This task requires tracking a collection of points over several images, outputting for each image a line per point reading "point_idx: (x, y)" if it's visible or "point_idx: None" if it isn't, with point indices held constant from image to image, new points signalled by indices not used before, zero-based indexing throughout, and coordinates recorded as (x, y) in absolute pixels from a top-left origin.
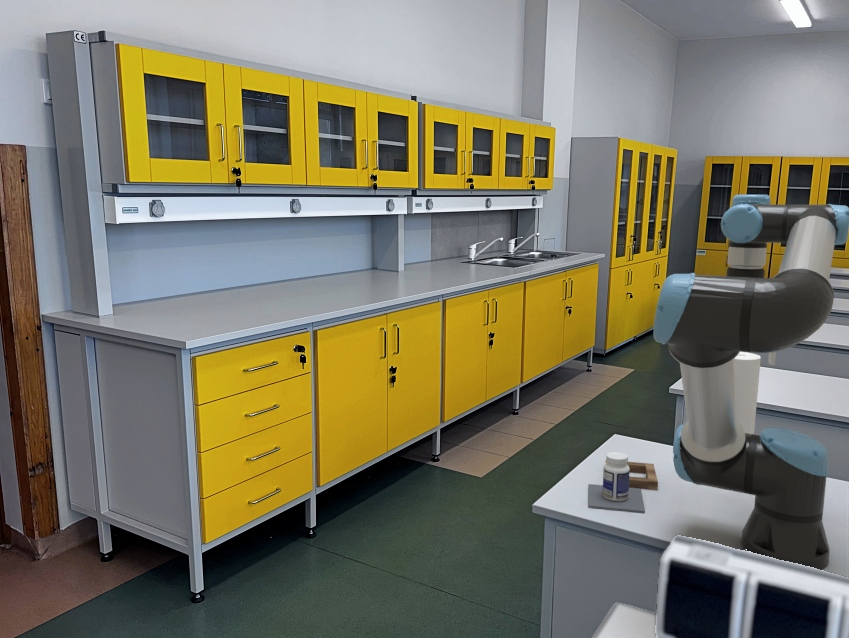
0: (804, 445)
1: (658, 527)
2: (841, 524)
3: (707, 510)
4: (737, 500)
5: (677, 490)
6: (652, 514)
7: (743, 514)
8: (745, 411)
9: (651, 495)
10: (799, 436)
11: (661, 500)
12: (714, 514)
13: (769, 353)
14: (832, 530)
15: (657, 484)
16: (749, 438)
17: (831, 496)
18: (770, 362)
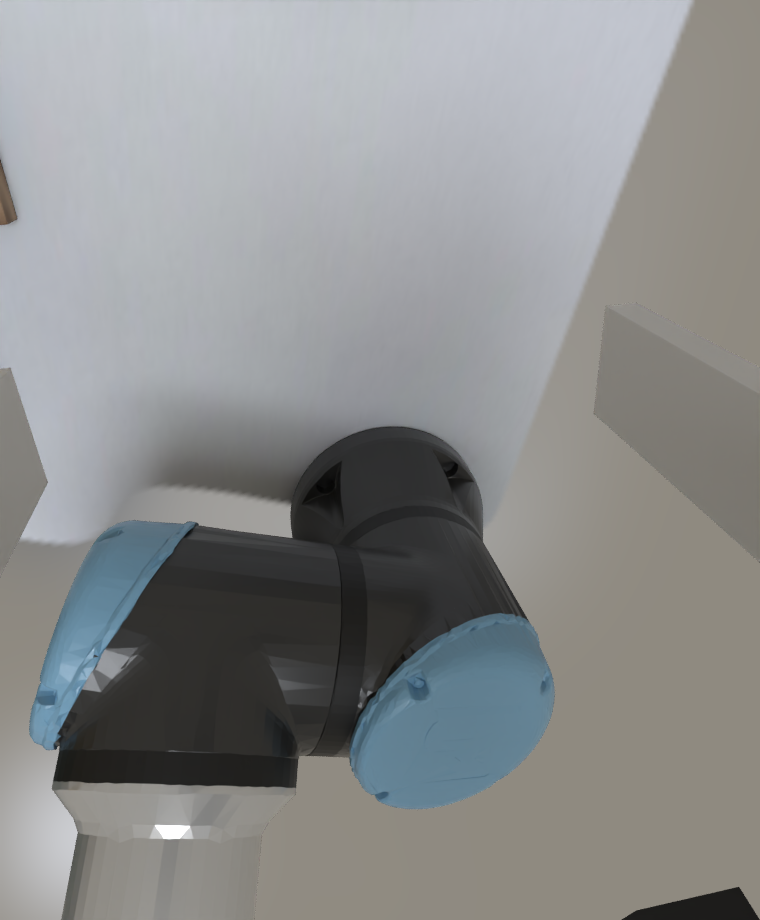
0: (480, 770)
1: (74, 497)
2: (574, 309)
3: (206, 339)
4: (306, 222)
5: (92, 194)
6: (41, 424)
7: (314, 332)
8: None
9: (5, 276)
10: (490, 711)
11: (49, 309)
12: (228, 361)
13: (651, 362)
14: (536, 357)
15: (8, 222)
16: (313, 744)
17: (633, 76)
18: (605, 396)
